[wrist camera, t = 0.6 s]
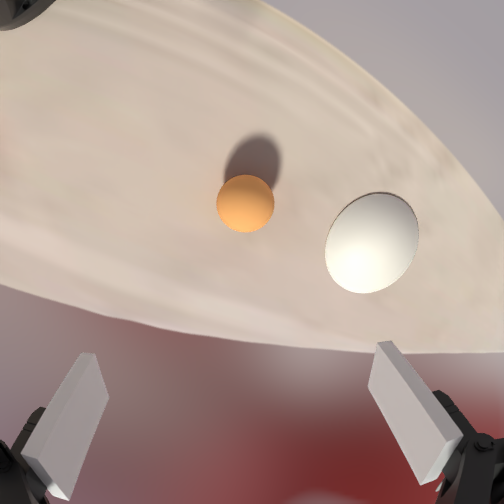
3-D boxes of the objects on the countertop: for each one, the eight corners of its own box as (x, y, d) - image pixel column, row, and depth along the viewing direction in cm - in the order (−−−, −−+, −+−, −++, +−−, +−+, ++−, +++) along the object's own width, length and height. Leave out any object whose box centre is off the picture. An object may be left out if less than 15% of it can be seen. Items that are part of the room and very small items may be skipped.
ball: (227, 163, 32) (229, 171, 27) (277, 181, 33) (288, 193, 28) (209, 212, 33) (208, 230, 28) (257, 228, 35) (265, 248, 30)
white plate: (354, 176, 33) (354, 176, 33) (432, 217, 36) (433, 217, 36) (306, 277, 38) (307, 278, 38) (387, 301, 41) (388, 302, 41)
